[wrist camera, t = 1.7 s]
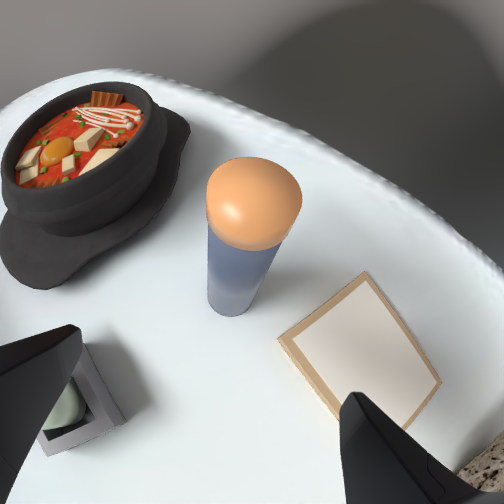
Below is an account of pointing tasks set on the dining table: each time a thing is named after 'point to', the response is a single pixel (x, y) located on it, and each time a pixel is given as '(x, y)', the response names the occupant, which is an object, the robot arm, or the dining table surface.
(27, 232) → the casserole
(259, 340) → the dining table surface
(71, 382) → the button
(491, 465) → the pumice stone
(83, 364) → the gray square hollow block
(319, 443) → the dining table surface
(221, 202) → the toy microphone
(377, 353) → the sketch pad
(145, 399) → the dining table surface
